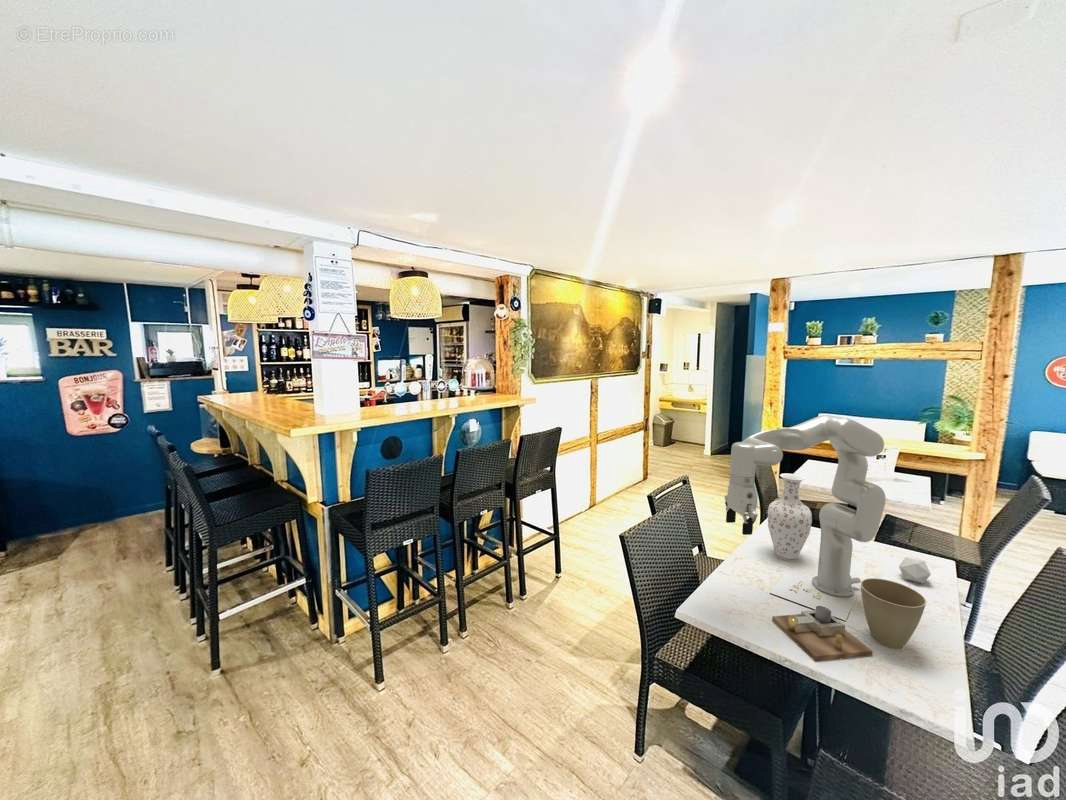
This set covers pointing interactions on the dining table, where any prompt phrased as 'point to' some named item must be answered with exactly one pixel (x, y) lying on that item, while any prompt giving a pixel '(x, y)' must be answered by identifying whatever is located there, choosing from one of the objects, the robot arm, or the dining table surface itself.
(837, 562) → the robot arm
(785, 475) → the vase
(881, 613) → the plant pot
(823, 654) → the board
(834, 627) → the square frame with handle
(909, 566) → the die
